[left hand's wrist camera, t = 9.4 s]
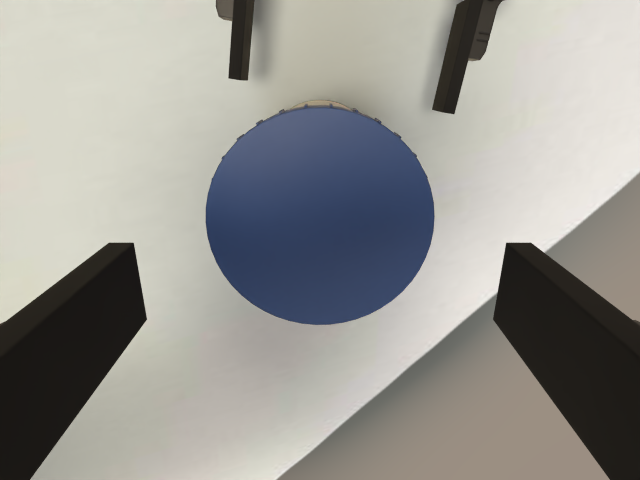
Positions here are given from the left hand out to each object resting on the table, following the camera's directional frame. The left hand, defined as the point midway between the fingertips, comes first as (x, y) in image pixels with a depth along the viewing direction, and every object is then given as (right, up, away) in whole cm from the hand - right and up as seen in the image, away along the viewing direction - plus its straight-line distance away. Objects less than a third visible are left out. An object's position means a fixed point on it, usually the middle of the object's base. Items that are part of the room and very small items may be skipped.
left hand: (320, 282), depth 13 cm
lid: (0, +2, +5) cm, 6 cm away
